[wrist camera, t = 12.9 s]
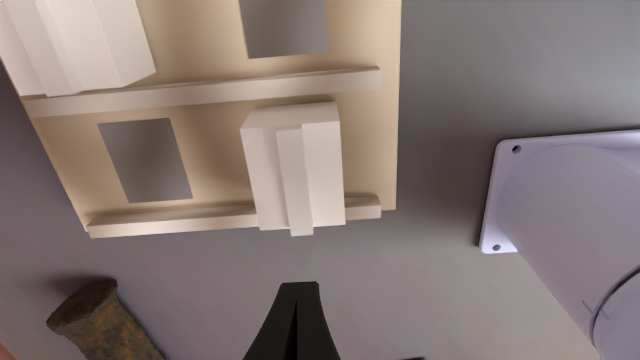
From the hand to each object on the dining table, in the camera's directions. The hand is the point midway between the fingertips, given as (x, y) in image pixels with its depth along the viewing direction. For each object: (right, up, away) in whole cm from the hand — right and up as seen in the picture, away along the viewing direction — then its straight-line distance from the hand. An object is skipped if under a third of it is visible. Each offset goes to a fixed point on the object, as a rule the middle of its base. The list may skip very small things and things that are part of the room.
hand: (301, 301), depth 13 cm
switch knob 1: (-9, +12, +2) cm, 15 cm away
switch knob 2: (0, +6, +5) cm, 7 cm away
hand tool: (-12, -10, +16) cm, 23 cm away
